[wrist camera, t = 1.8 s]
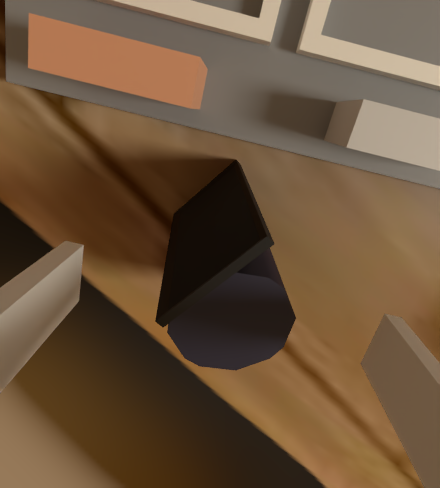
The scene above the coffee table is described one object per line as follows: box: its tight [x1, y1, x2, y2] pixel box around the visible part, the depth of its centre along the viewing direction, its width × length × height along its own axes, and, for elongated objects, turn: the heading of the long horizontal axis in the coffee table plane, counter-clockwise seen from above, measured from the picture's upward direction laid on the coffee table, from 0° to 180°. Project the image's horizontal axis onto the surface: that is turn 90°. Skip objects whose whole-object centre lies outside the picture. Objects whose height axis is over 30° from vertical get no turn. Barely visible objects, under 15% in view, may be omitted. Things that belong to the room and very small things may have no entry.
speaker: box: [155, 160, 296, 370], centre depth 17 cm, size 8×6×10 cm
